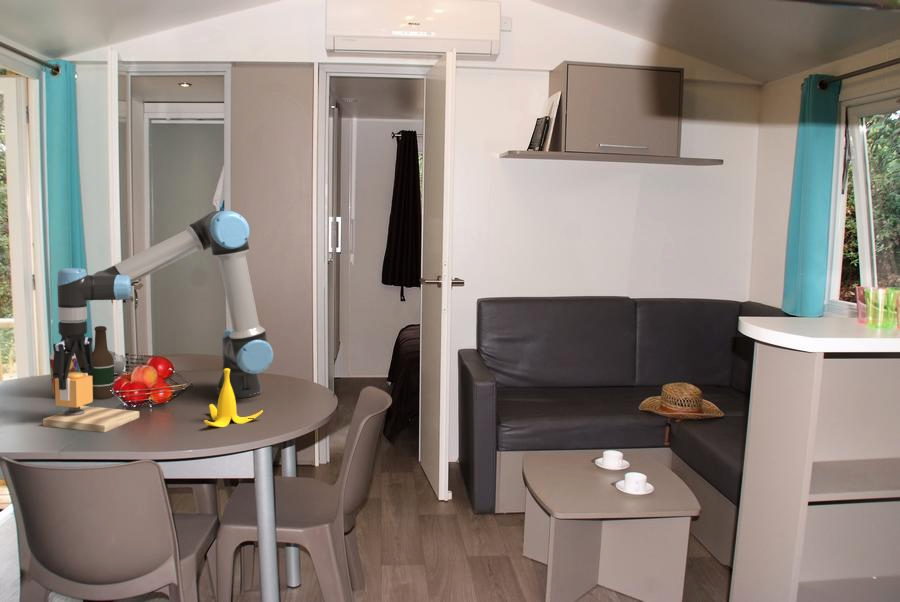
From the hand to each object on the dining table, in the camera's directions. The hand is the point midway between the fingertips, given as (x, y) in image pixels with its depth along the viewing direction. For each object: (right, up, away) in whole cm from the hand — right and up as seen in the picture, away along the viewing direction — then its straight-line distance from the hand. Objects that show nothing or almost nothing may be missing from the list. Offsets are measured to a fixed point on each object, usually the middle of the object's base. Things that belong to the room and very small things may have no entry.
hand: (74, 396), depth 213 cm
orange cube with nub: (0, -2, 0) cm, 2 cm away
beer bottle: (-6, -4, +28) cm, 29 cm away
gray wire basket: (-11, -1, +57) cm, 58 cm away
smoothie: (-17, -4, +26) cm, 32 cm away
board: (+6, -7, 0) cm, 9 cm away
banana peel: (+43, -9, +3) cm, 44 cm away
